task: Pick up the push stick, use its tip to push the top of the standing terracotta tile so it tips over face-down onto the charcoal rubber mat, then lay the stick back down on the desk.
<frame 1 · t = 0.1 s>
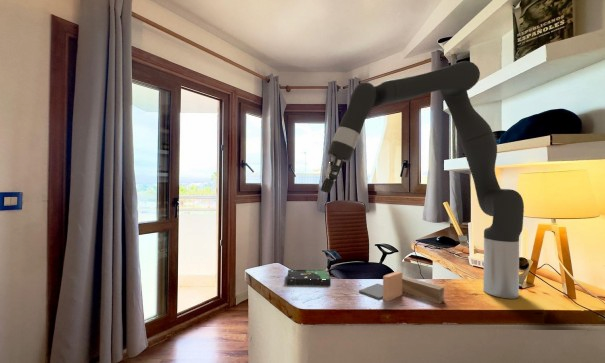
hand: (324, 191, 90), 31 cm above the table, tool tilted 20°, fingers open, 8 cm apart
tile: (392, 297, 86), on the table
push stick: (415, 293, 89), on the table
mat: (378, 291, 89), on the table
disk drive: (308, 282, 99), on the table
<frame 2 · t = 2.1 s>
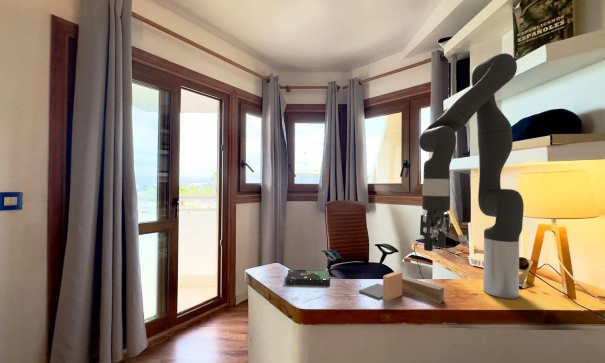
hand: (435, 248, 84), 15 cm above the table, tool pointing down, fingers open, 8 cm apart
nothing on the table moved.
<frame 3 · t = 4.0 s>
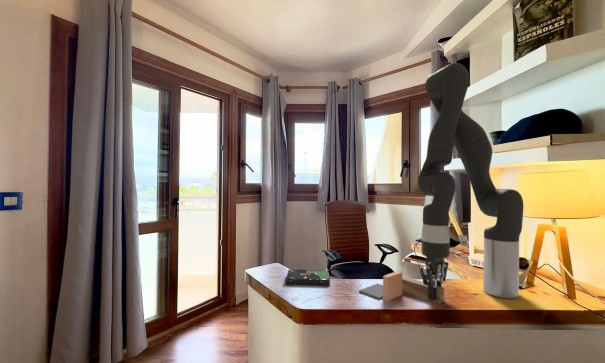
hand: (434, 297, 84), 1 cm above the table, tool pointing down, fingers closed on push stick, 3 cm apart
push stick: (415, 294, 88), on the table, touching gripper
everything else where it was.
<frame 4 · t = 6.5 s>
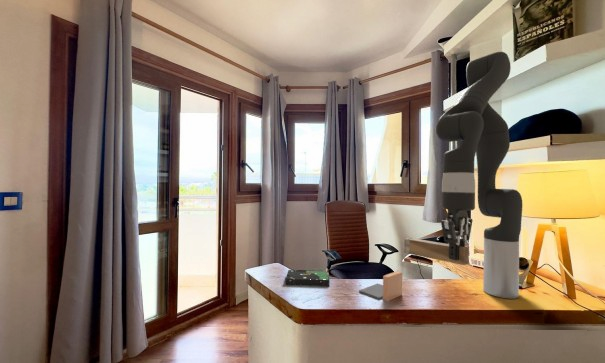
hand: (456, 258, 72), 15 cm above the table, tool pointing down, fingers closed on push stick, 3 cm apart
push stick: (434, 257, 77), point 14 cm above the table, touching gripper
everything else where it was.
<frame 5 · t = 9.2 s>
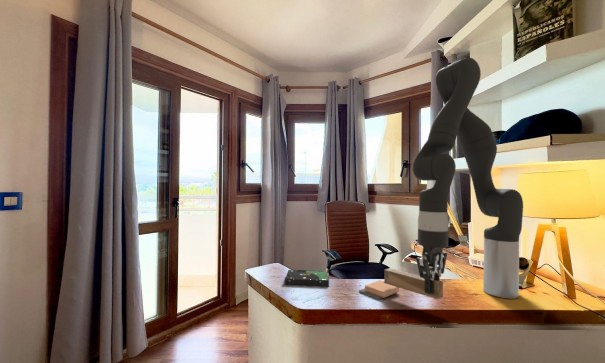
hand: (432, 291, 77), 5 cm above the table, tool pointing down, fingers closed on push stick, 3 cm apart
tile: (391, 291, 86), point 1 cm above the table, tilted 90°, touching mat
push stick: (411, 289, 81), point 4 cm above the table, touching gripper
everything else where it was.
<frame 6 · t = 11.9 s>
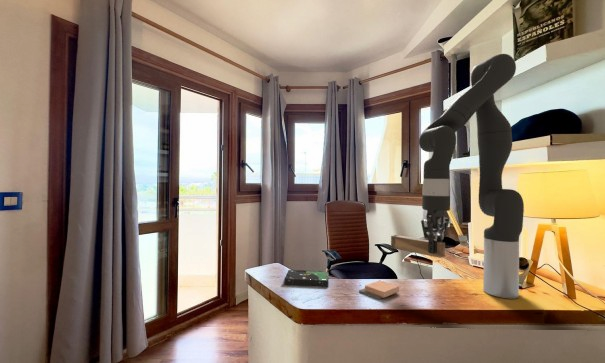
hand: (435, 252, 84), 14 cm above the table, tool pointing down, fingers closed on push stick, 3 cm apart
push stick: (416, 251, 89), point 13 cm above the table, touching gripper
everything else where it was.
when the fingers open (3 cm above the table, at t = 14.1 s): push stick drops 2 cm, on the table.
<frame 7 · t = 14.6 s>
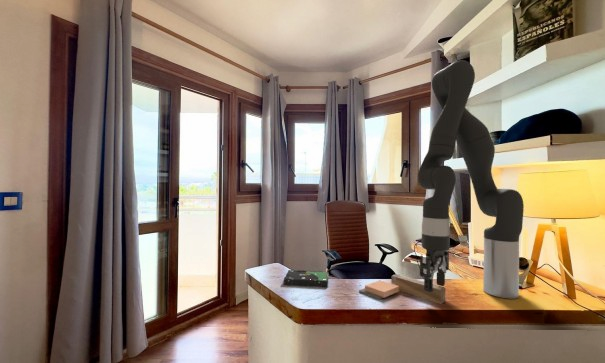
hand: (434, 288, 84), 3 cm above the table, tool pointing down, fingers open, 7 cm apart
push stick: (416, 294, 88), on the table
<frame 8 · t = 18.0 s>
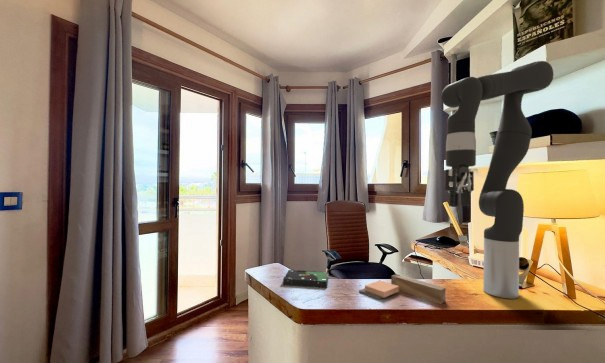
hand: (459, 206, 81), 28 cm above the table, tool pointing down, fingers open, 8 cm apart
at the end: tile tilted 90°; tile touching mat; push stick inside the target area (0.5 cm from its centre), on the table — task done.
